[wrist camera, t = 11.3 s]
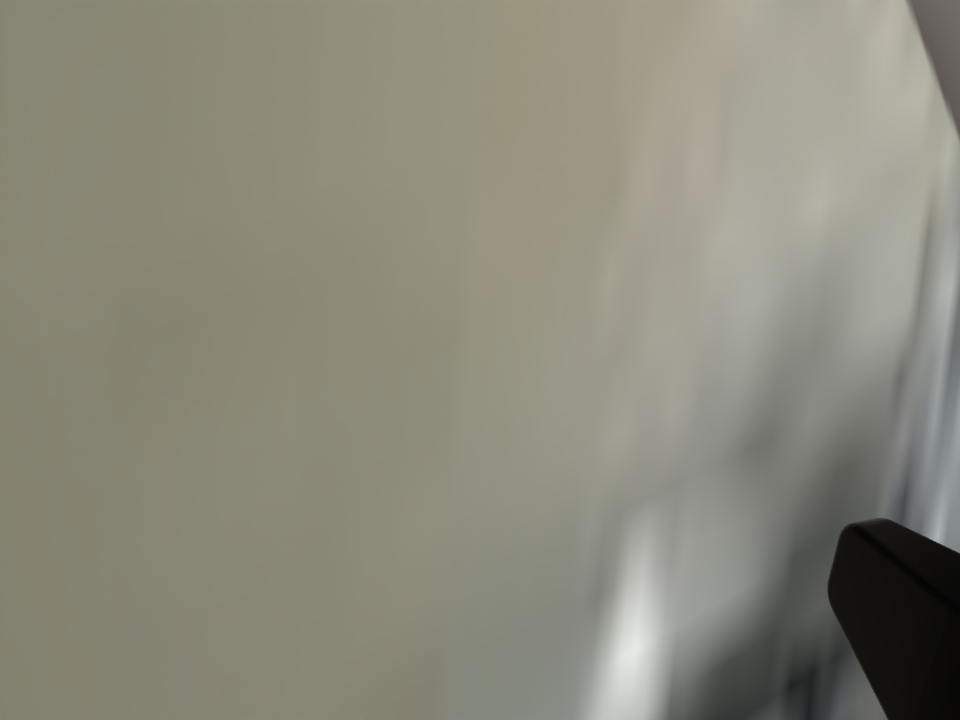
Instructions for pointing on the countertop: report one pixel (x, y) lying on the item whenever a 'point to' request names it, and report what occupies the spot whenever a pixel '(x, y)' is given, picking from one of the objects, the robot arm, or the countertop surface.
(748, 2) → the countertop surface
